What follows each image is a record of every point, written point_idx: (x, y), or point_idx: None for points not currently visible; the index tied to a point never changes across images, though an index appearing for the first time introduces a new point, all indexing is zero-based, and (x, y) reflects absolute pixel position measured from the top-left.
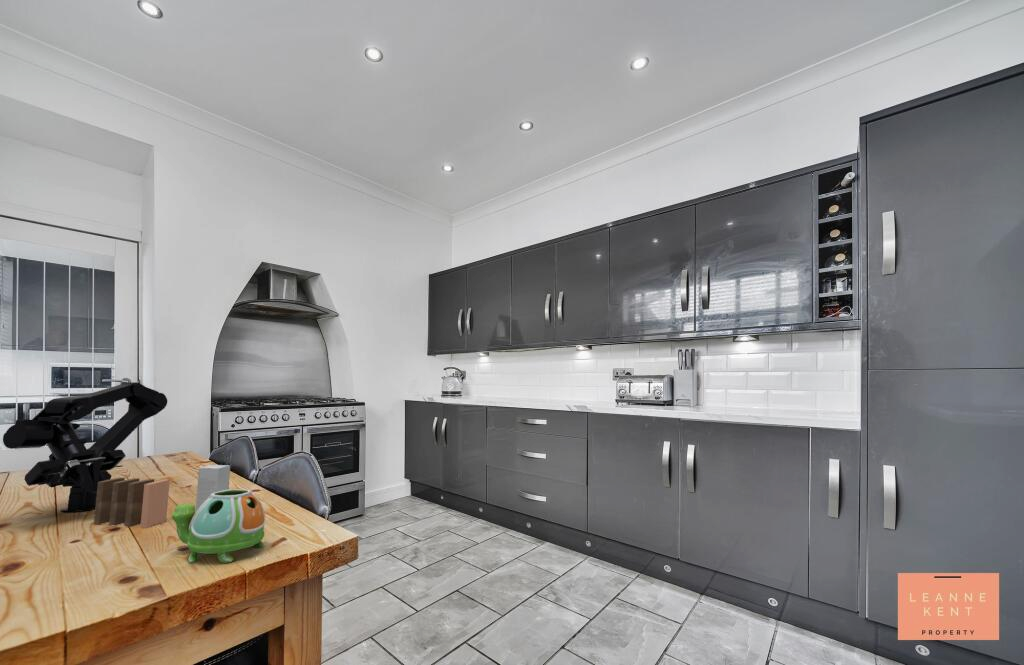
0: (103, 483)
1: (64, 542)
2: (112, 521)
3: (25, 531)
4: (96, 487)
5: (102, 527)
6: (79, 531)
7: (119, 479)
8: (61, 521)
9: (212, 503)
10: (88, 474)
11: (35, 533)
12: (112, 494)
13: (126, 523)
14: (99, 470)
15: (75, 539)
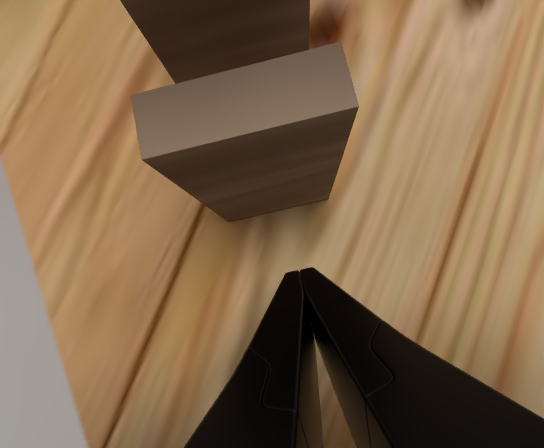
0: (338, 51)
1: (506, 15)
2: None
3: (535, 381)
4: (292, 280)
5: None
6: (409, 132)
7: (185, 84)
8: None
9: None
10: (367, 356)
11: (522, 288)
12: (308, 12)
13: None
14: (212, 407)
15: (467, 20)
